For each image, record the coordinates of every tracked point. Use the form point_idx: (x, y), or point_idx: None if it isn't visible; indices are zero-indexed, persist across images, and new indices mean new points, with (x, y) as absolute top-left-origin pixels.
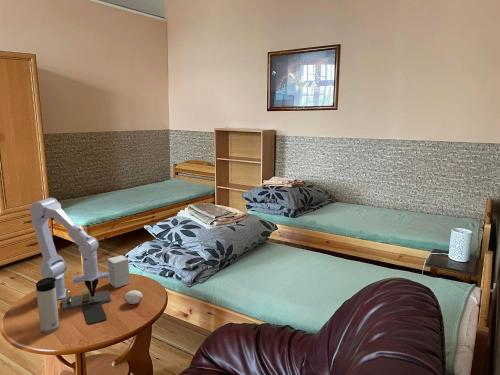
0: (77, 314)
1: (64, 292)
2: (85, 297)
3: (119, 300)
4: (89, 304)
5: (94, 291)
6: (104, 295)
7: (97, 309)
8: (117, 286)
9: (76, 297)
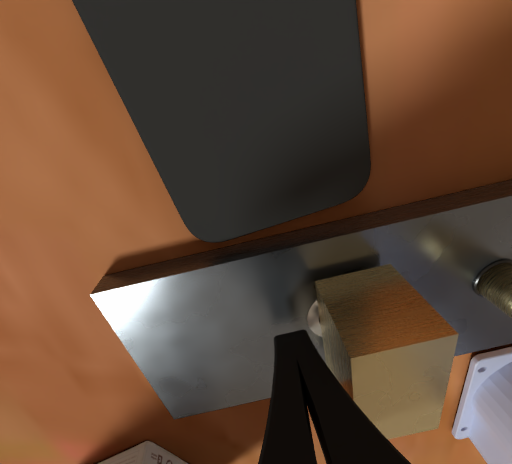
0: (428, 39)
1: (493, 402)
2: (372, 303)
3: (19, 286)
4: (305, 234)
5: (275, 392)
6: (186, 357)
7: (194, 99)
8: (133, 453)
9: None
